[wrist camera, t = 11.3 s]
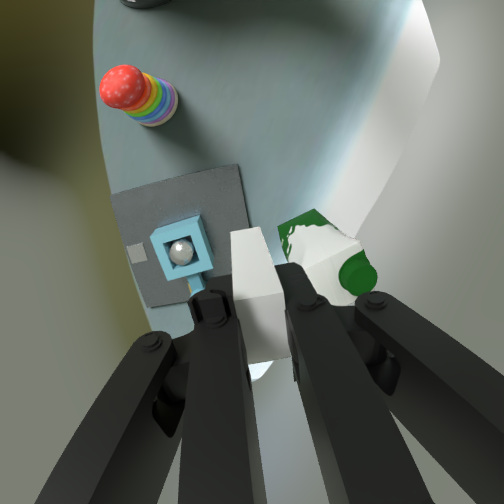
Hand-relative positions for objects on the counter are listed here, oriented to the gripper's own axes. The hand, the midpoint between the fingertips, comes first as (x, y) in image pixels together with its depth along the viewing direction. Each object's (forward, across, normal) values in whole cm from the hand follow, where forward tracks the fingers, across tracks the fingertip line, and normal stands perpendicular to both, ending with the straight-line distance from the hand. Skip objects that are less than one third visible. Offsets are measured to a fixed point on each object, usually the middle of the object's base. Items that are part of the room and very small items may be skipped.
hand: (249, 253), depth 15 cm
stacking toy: (+32, -10, +15) cm, 37 cm away
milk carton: (+32, +10, -12) cm, 36 cm away
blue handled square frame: (+30, -10, -12) cm, 34 cm away
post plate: (+32, -10, -9) cm, 35 cm away
